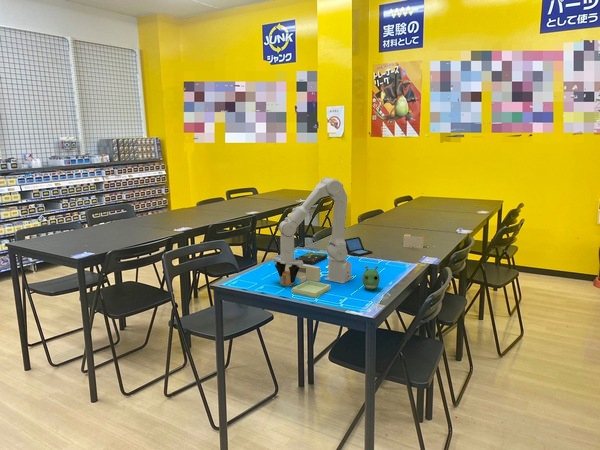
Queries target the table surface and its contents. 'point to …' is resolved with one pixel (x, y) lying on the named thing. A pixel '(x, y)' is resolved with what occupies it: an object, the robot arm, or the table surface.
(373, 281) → the alien toy
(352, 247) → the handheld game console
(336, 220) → the robot arm
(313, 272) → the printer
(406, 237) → the model
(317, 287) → the tray
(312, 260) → the disk drive
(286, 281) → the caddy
